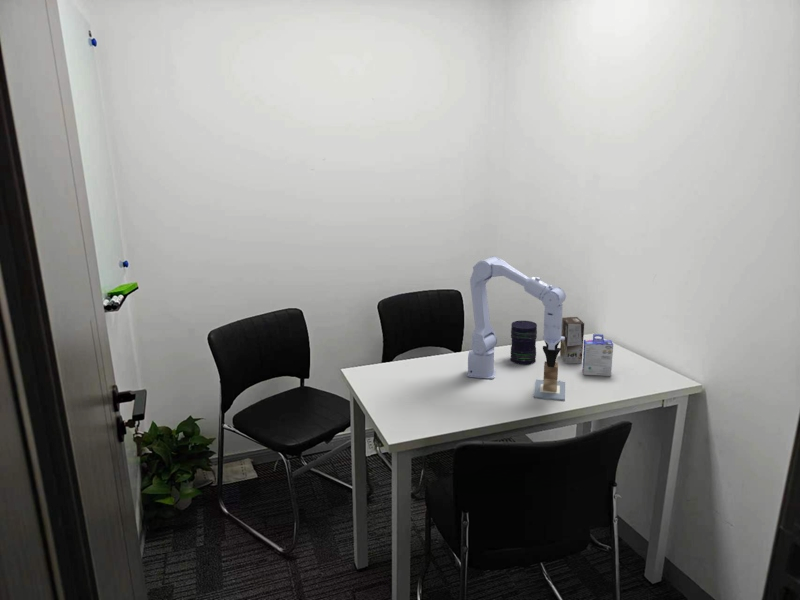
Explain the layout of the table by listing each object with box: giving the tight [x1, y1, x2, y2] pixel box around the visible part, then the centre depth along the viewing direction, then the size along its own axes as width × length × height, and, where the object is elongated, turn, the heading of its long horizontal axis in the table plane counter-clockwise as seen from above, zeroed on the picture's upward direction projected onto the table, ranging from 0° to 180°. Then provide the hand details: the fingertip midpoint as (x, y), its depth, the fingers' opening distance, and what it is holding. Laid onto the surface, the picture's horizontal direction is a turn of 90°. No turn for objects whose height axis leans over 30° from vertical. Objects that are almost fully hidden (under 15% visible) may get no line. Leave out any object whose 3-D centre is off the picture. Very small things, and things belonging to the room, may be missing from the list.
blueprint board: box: [533, 379, 566, 402], centre depth 184 cm, size 10×14×1 cm
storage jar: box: [510, 320, 538, 366], centre depth 209 cm, size 10×10×15 cm
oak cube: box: [542, 378, 558, 392], centre depth 183 cm, size 4×4×4 cm
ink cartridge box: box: [581, 333, 614, 377], centre depth 195 cm, size 10×6×14 cm, turn 78°
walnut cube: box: [543, 361, 559, 381], centre depth 182 cm, size 4×4×4 cm
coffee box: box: [559, 316, 585, 364], centre depth 209 cm, size 9×6×16 cm
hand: (551, 362), depth 182 cm, fingers open, 7 cm apart
